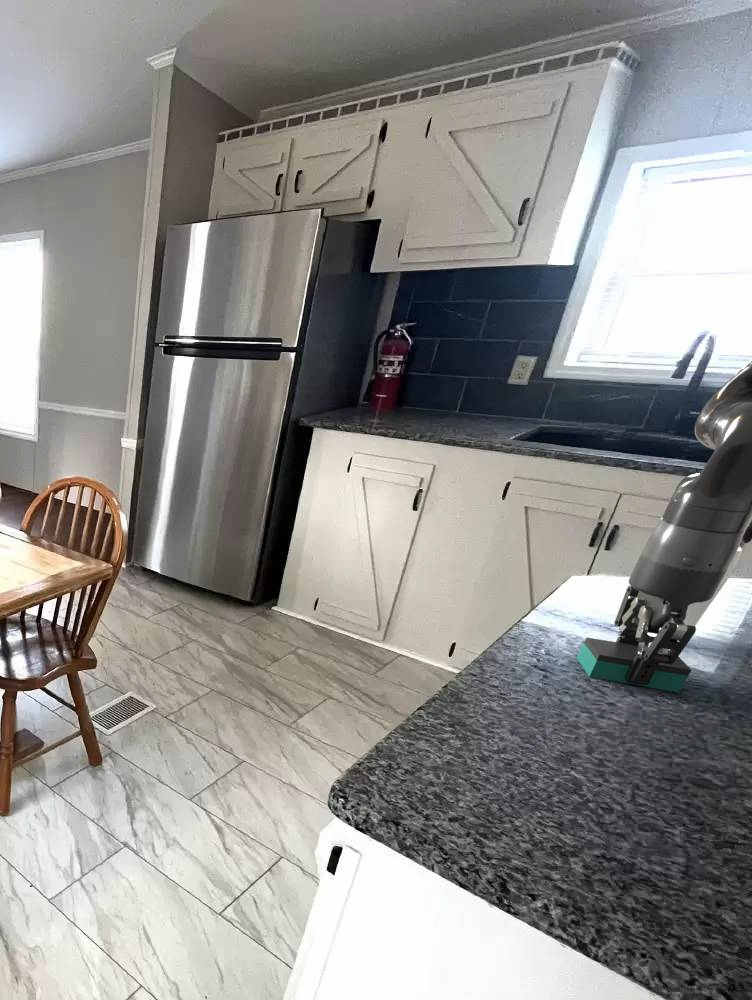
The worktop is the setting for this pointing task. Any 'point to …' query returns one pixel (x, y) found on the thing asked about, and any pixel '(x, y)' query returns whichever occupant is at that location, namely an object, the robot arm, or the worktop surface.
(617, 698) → the worktop surface
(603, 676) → the sponge
